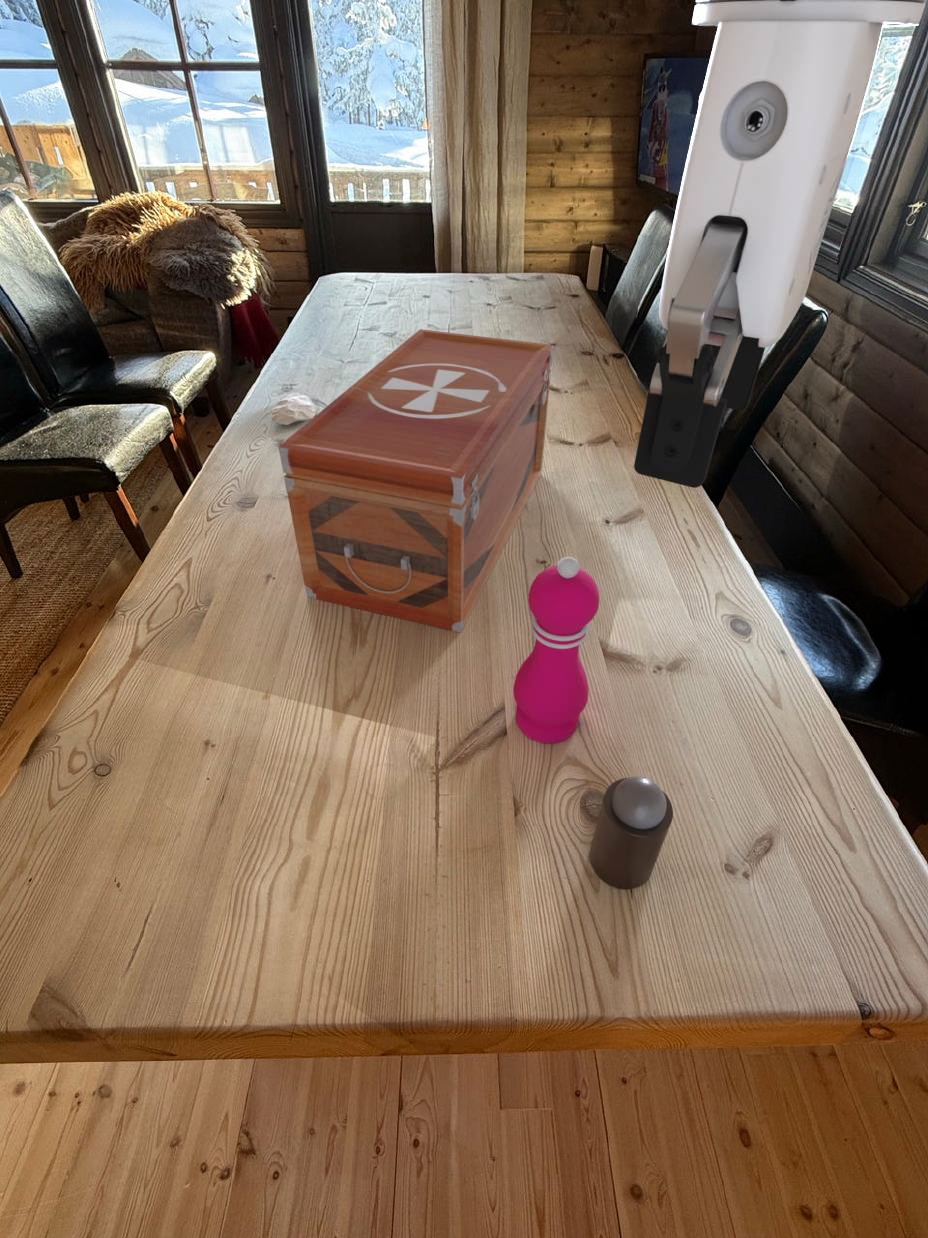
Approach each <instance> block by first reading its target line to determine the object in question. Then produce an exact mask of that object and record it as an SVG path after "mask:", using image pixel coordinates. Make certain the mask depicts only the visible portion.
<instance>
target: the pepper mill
mask: <svg viewBox="0 0 928 1238" xmlns="http://www.w3.org/2000/svg"><path fill="white" fill-rule="evenodd" d="M599 591H600V590H599V587H598V585H597V583H596V582H595V579H594V578H593V577H592V576H591V574H589V573H588V572H587V571H585V570H583V569H581V568H580V565H579V562H578V560H577V559H576V558H574V557H573V556H565V557H562V558H561V559H559V561H558V562H557V565H553V566H550V567H547V568H545V569H544V570H542V571H541V572H540V573H538V574H537V575H536V577H535V578H534V579H533V581H532V583H531V584H530V587H529V592H528V598H527V599H528V605H529V606H528V607H529V610H530V611H531V613H532V617H531V625H530V628H531V633H532V635H533V637H534V638H535V644H534V647H533V649H532V651H531V653H530V654H529V655H528V656H527V657H526V659H525V660H524V661H523V662H522V664H521V665H520V667H519V669H518V671H517V673H516V676H515V678H514V679H515V680H514V683H513V690H512V691H513V698H514V701H515V703H516V709H515V721H516V722H515V723H516V724H517V727H518V728H519V730H520V731H521V733H523V735H525V736H526V737H527V738H529V739H531V740H532V741H535V742H537V743H542V744H558V743H561V742H564V741H565V742H566V741H567V740H568V739H570V738H571V737H572V736H573V735H574V734H575V732H576V731H577V729H578V726H579V720H580V715H581V714H582V712H583V711H584V709H585V708H586V706H587V703H588V701H589V689H590V688H589V681H588V677H587V674H586V671H585V668H584V666H583V663H582V661H581V658H580V654H579V653H580V652H579V651H580V647H581V644H583V643H584V642H585V641H586V639H587V638H588V635H589V628H590V622H591V621H592V620H593V619H594V618H595V616H597V613H598V610H599V605H600V592H599Z"/></svg>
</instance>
